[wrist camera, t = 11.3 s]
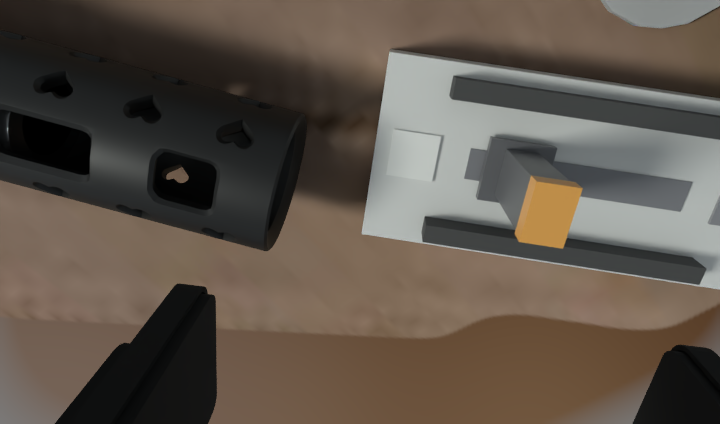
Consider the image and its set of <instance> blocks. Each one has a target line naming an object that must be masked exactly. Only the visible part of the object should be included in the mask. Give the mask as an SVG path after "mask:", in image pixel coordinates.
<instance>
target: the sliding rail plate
mask: <svg viewBox="0 0 720 424" xmlns="http://www.w3.org/2000/svg"><path fill="white" fill-rule="evenodd" d="M449 96H450V98H451V99H452V100H459V101H466V102H472V103H479V104H485V105H492V106H499V107H505V108H512V109H519V110H525V111H532V112H538V113H545V114H552V115H558V116H565V117H572V118H578V119H585V120H592V121H598V122H605V123H611V124H618V125H625V126H631V127H638V128H645V129H651V130H658V131H664V132H671V133H678V134H684V135H691V136H698V137H704V138H711V139H718V140H720V116H719V115H712V114H706V113H699V112H692V111H686V110H679V109H672V108H666V107H659V106H652V105H646V104H639V103H633V102H626V101H619V100H613V99H606V98H599V97H593V96H586V95H579V94H573V93H566V92H559V91H553V90H546V89H539V88H533V87H526V86H519V85H513V84H506V83H499V82H493V81H486V80H479V79H473V78H466V77H459V76H453V79H452V84H451V89H450V94H449ZM421 233H422V241H423V242H425V243H432V244H438V245H445V246H451V247H457V248H464V249H470V250H477V251H483V252H490V253H496V254H503V255H509V256H515V257H522V258H528V259H535V260H541V261H548V262H554V263H561V264H567V265H574V266H580V267H586V268H593V269H599V270H606V271H612V272H619V273H625V274H632V275H638V276H644V277H651V278H657V279H664V280H670V281H677V282H683V283H690V284H696V285H700V283H701V280H702V278H703V276H704V274H705V272H706V269H707V268H705V267H704V266H703V265H702V264H700V263H699V262H698V261H696V260H695V259H694V258H693V257H687V256H680V255H674V254H667V253H661V252H654V251H648V250H641V249H635V248H628V247H622V246H615V245H609V244H602V243H596V242H589V241H583V240H576V239H570V238H566V241H565V244H564V247H563V249H561V248H555V247H548V246H542V245H535V244H529V243H522V242H519V241H518V239H517V237H516V236H515V230H512V229H505V228H499V227H492V226H486V225H479V224H473V223H466V222H460V221H453V220H447V219H440V218H434V217H427V216H425V217H424V222H423V227H422V232H421Z"/></svg>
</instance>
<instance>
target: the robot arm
mask: <svg viewBox="0 0 720 424" xmlns="http://www.w3.org/2000/svg"><path fill="white" fill-rule="evenodd" d="M216 396H217V378H216V301H215V296H214V295H210V294H208V293H207V289H206V288H205V287H203V286H194V285H186V284H176V285H175V286H174V287H173V289H172V290H171V291H170V293H169V294H168V295H167V296H166V298H165V299H164V300H163V302H162V303H161V304H160V306H159V307H158V308H157V309H156V311H155V312H154V313H153V315H152V316H151V317H150V318H149V320H148V321H147V322H146V324H145V325H144V326H143V328H142V329H141V330H140V331H139V333H138V334H137V335H136V337H135V338H134V339H133V341H132V342H131V343H130V344H129V343H123V344H121V345H119V346H118V347H117V348H116V349H115V350H114V351H113V352H112V353H111V355H110V356H109V357H108V358H107V359H106V361H105V362H104V363H103V364H102V366H101V367H100V368H99V369H98V371H97V372H96V373H95V374H94V376H93V377H92V378H91V379H90V381H89V382H88V383H87V384H86V386H85V387H84V388H83V390H82V391H81V392H80V393H79V394H78V396H77V397H76V398H75V399H74V401H73V402H72V403H71V404H70V405H69V407H68V408H67V409H66V411H65V412H64V413H63V414H62V415H61V417H60V418H59V419H58V420H57V422H56V423H55V424H208V422H209V420H210V418H211V415H212V413H213V410H214V407H215V403H216ZM633 424H720V357H719V356H718V355H717V354H716V353H715V352H714V351H712V350H711V349H708V348H703V347H695V346H686V345H676V346H675V347H673V348H672V350H671V351H667V352H666V353H664V355H663V357H662V359H661V361H660V363H659V366H658V368H657V370H656V372H655V375H654V377H653V379H652V382H651V384H650V386H649V388H648V390H647V392H646V395H645V397H644V399H643V401H642V404H641V406H640V408H639V411H638V413H637V415H636V418H635V419H634V422H633Z"/></svg>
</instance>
